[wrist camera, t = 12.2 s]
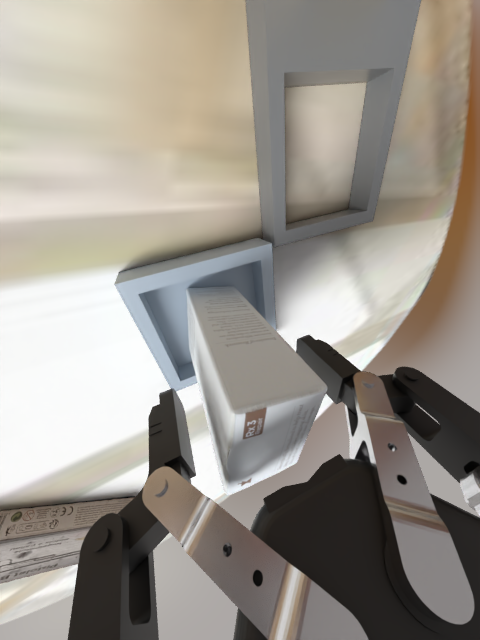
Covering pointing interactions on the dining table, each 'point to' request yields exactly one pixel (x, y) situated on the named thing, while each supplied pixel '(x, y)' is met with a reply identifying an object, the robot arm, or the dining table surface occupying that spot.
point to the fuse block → (325, 69)
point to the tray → (171, 300)
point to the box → (47, 536)
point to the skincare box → (249, 387)
